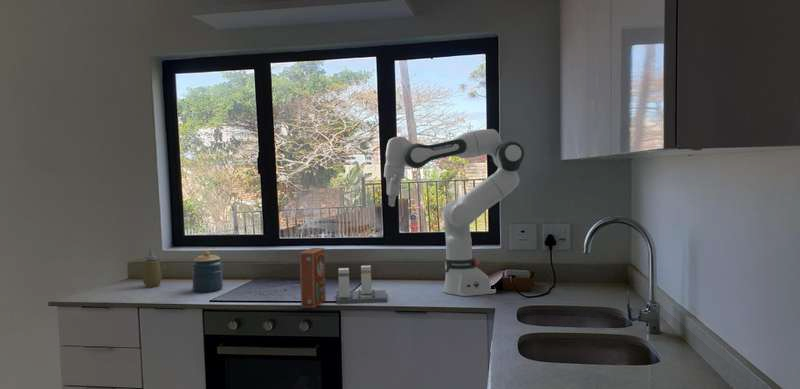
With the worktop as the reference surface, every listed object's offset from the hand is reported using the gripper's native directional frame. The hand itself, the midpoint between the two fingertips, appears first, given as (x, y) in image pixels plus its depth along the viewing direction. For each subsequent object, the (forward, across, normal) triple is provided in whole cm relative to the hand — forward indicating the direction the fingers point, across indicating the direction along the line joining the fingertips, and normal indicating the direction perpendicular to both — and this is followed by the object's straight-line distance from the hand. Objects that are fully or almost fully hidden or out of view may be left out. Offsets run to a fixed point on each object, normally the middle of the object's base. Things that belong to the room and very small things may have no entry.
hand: (391, 206), depth 209 cm
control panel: (+41, -14, +28) cm, 52 cm away
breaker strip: (+39, -8, +9) cm, 41 cm away
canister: (+46, +20, +78) cm, 93 cm away
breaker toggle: (+36, -7, +8) cm, 38 cm away
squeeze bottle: (+49, +32, +107) cm, 122 cm away
